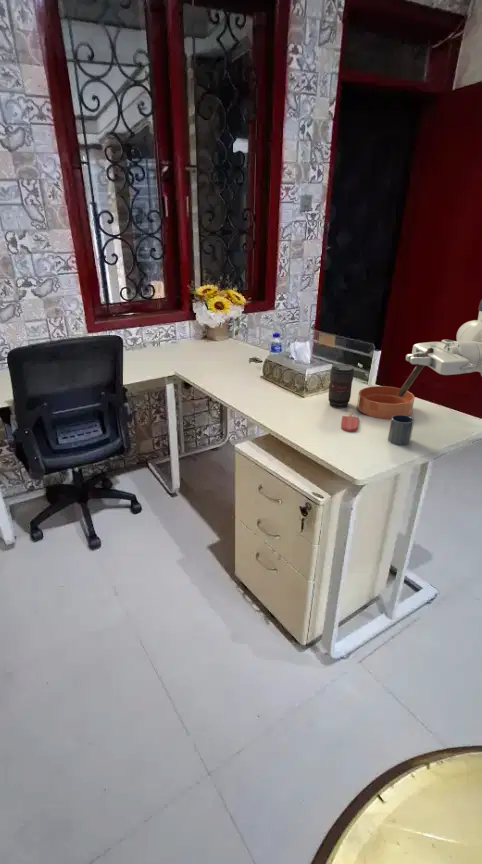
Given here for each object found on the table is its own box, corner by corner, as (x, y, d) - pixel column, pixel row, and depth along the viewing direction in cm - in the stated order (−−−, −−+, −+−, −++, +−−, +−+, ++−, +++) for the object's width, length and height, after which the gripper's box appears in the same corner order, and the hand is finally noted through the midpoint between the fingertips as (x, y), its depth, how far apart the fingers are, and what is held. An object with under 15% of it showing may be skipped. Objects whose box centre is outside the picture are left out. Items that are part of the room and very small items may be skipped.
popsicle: (359, 412, 146) (357, 430, 133) (358, 416, 147) (357, 434, 134) (343, 410, 148) (340, 428, 135) (342, 414, 148) (340, 432, 136)
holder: (401, 436, 131) (406, 413, 127) (414, 445, 125) (418, 421, 122) (383, 439, 130) (387, 415, 127) (394, 448, 125) (399, 424, 121)
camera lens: (337, 410, 152) (341, 371, 145) (323, 403, 159) (326, 365, 152) (354, 406, 155) (359, 367, 148) (339, 399, 162) (343, 362, 155)
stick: (398, 396, 124) (431, 347, 117) (402, 399, 122) (436, 350, 116) (394, 394, 123) (427, 345, 117) (398, 397, 122) (432, 348, 115)
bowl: (393, 398, 159) (395, 384, 157) (422, 417, 143) (425, 401, 140) (348, 403, 157) (350, 388, 155) (373, 422, 141) (375, 406, 138)
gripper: (476, 379, 109) (422, 381, 110) (440, 358, 127) (394, 360, 128) (482, 356, 106) (426, 358, 107) (444, 338, 125) (397, 339, 126)
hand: (408, 359), depth 118 cm, fingers closed on stick, 1 cm apart
